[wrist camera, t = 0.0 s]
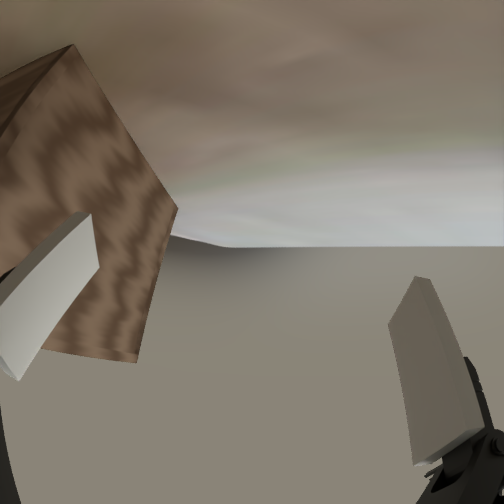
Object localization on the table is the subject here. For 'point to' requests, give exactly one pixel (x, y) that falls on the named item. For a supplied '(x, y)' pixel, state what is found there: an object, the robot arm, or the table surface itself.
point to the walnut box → (81, 199)
